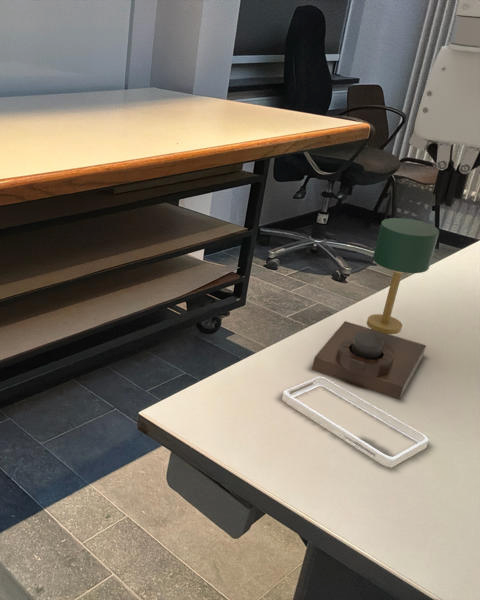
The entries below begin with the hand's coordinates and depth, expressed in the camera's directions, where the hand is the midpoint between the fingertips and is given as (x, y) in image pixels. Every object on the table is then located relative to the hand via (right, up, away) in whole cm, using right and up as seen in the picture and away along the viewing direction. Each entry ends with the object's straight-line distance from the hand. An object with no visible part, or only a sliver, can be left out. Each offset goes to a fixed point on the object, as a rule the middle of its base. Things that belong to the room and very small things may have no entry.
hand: (445, 202), depth 79 cm
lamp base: (-4, -20, +12) cm, 24 cm away
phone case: (-11, -26, 0) cm, 28 cm away
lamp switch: (-6, -18, +7) cm, 21 cm away
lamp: (-1, -15, +13) cm, 20 cm away
